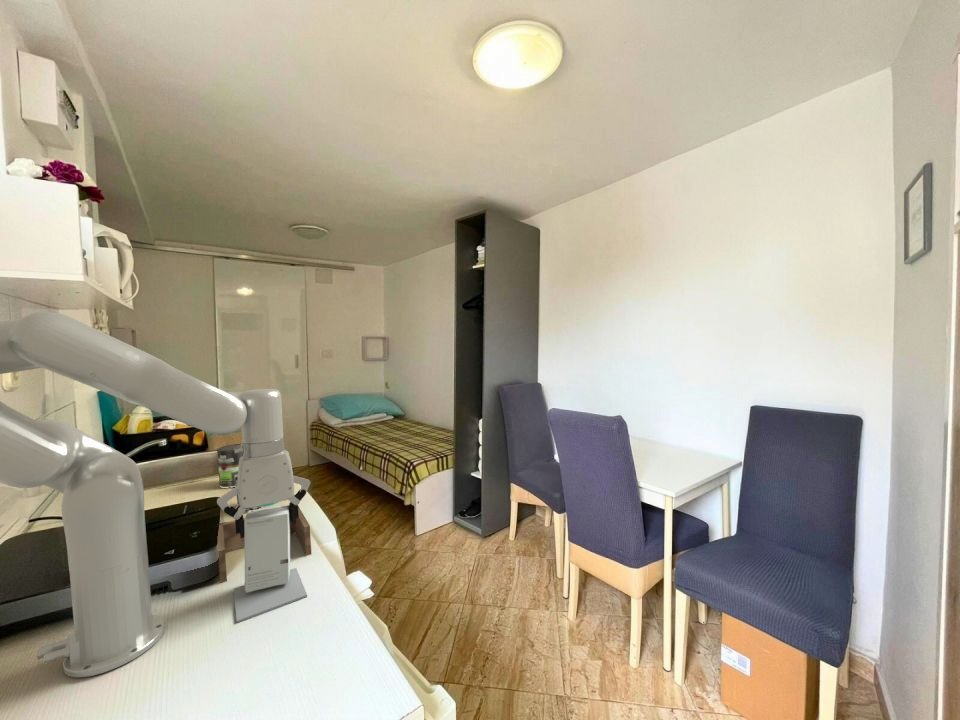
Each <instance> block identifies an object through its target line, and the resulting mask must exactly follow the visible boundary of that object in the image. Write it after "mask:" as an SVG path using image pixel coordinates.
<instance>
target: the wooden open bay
mask: <svg viewBox="0 0 960 720" xmlns="http://www.w3.org/2000/svg"><path fill="white" fill-rule="evenodd" d="M298 514H299V517H298V518H296V524H292V523H291V521H290V535H293V534H295V535H296V537H297V539H298V542H299V543H300V546H301V547H302V550H303V552H304V555H305V556H306V557H307V556H310V555H312V539H311V526H310V523H309V522H308V520H307V519H306V517H305V515H304V513H303V512H302V509H301V508H300V506H299V505H298ZM243 518H244V532H245V518H246V517H243ZM243 547H244V548H245V537H244V538H241V537H240V533H238V534H236V528H235V520H231V521H227V522H223V523H219V532H218V536H217V553H218V554H217V555H218V568H219V569H218V570H219V571H218V572H219V583H220V584H222V583H225V582H228V578H227V563H226V562H227V560H226V553H230V552H233V551H236V550H239V549H243Z"/></svg>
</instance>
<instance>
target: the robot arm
mask: <svg viewBox="0 0 960 720" xmlns="http://www.w3.org/2000/svg"><path fill="white" fill-rule="evenodd" d="M37 369H45V370H48V371H50V372H52V373H55V374H58V375H60V376H62V377H65V378H68V379H71V380H73V381H76V382H79V383H81V384H84V385H87V386H88V387H90V388H94V389H96V390H98V391H100V392H103V393H106V394H108V395H111V396H112V397H115V398H119V399H121V400H123V401H124V402H128V403H130V404H133V405H136V406H139V407H143V408H145V409H148V410H149V411H150V410H151V411H153V412H156V413H158V414H161V415H163V416H165V417H168V418H171V419H172V420H175V421H178V422H180V423H183V424H186V425H188V426H189V427H190V426H191V427H193V428H196V429H199V430H200V431H203V432H205V433H208V434H211V435H215V436H226V435H230V434H232V433H235V432H237V431H238V430H239V429H241V443H240V444H241V446H238V447H234V449H235V454H236V453H239V454H240V453H241V454H243V456H242V457H241V458H240V460H239V466H238V486H236V487H235V488H231V490H229V491H228V492H226V493H224V494H223V495H221V496H220V497H218V498H217V499H216V504H217V506H219V508H220V509H221V510H222V511H223V513H224V514H226V515H228V516H230V517H231V518H233V520H234V521H235V528H236V534H238V533H240V537H241V538H244V537H245V536H244V534H245V532H244V518H245V517H244V513H245V512H246V510H247V509H250V508H255V507H260V506H264V505H268V504H273V503H276V504H278V503H281V502H286V501H287V500H288V501H289V503H288V505H289V507H290V521H291V523H292V524H296V518H298V517H299V514H298V506H299V504H300V502H301V501H302V500H303V499H304V497H305V495H307V491H309V488H310V486H311V483H312V482H311V481H310V480H309V479H308V478H305V477H300V476H297V475H294V473H293V467H292V460H291V457H290V452H289V451H288V450H287V449H285V443H284V439H285V438H284V425H283V424H284V422H283V407H282V406H283V405H282V393H281V392H280V390H278V389H276V388H257V389H251V390H246V391H225V390H222V389H220V388H217V387H215V386H214V385H211V384H209V383H207V382H205V381H203V380H200V379H198V378H196V377H194V376H192V375H190V374H188V373H185V372H183V371H182V370H180V369H178V368H175V367H174V366H172V365H171V364H169V363H167V362H165V361H164V360H162V359H160V358H158V357H156V356H154V355H152V354H150V353H148V352H146V351H144V350H142V349H140V348H137V347H135V346H133V345H130V344H129V343H126V342H125V341H122V340H121V339H117V338H116V337H114V336H111V335H109V334H107V333H105V332H104V331H101V330H99V329H97V328H95V327H92V326H90V325H88V324H85V323H84V322H81V321H79V320H77V319H75V318H73V317H71V316H68V315H65V314H62V313H58V312H53V311H39V312H33V313H30V314H27V315H25V316H23V317H21V318H20V319H14V320H13V319H12V320H6V321H3V320H2V321H0V375H4V374H9V373H11V374H12V373H16V372H23V371H30V370H37ZM0 483H2V484H4V485H7V486H9V487H12V488H13V487H14V488H20V489H31V488H38V487H41V486H46V487H48V488H49V489H52V490H54V491H56V492H59V493H61V494H63V495H62V498H61V499H62V500H61V519H62V525H63V529H64V536H65V542H66V551H67V563H68V570H69V581H70V583H69V584H70V591H71V592H70V593H71V594H70V595H71V605H72V616H73V618H72V619H73V629H74V632H73V633H70V634H67V635H66V637H64V638H62V639H59V640H53V641H50V642H47V643H45V644H42V645H38V647H37V653H36V655H37V660H38V661H39V660H41V659H43V660H42V664H43V665H45V664H49V663H51V662H54V661H57V660H59V659H62V658H64V659H63V662H62V669H63V672H64V674H65V675H66V676H68V677H70V678H77V679H78V678H87V677H94V676H97V675H101V674H104V673H107V672H109V671H113V670H115V669H117V668H119V667H121V666H123V665H125V664H128V663H129V662H131V661H133V660H135V659H136V658H138V657H140V656H141V655H143V654H145V652H147V651H148V650H149V649H151V648H152V647H154V645H155V644H156V643H158V641H159V640H160V639H161V638H162V636H163V634H164V632H165V629H166V625H165V624H166V623H165V621H164V619H163V618H162V617H161V616H158V615H153V609H152V608H153V607H152V594H151V581H150V569H149V555H148V544H147V543H148V542H147V531H146V519H145V517H146V516H145V515H146V514H145V513H146V512H145V492H144V491H145V489H144V483H143V477H142V474H141V471H140V467H139V466H138V464H137V463H136V462H135V461H134V460H133V459H132V458H130V457H129V456H127V455H126V454H124V453H122V452H120V451H119V450H116V449H115V448H113V447H111V446H110V445H107V444H105V442H102V441H101V440H99V439H97V438H95V437H93V436H91V435H90V434H88V433H86V432H84V431H83V430H80V429H78V428H77V427H75V426H73V425H72V424H69V423H66V422H62V421H59V420H54V419H33V417H30V416H27V415H26V414H24V413H22V412H20V411H18V410H16V409H15V408H12V407H11V406H9V405H7V404H5V402H2V401H0ZM295 484H297V485H300V486H301V487H300V489H299V490H298V491H297V493H295ZM237 495H238V501H239V504H237V506H236V507H234V506H233V505H230V504H229V503H228V502H229V501H230V500H233V498H235V497H237ZM277 502H278V503H277Z"/></svg>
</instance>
